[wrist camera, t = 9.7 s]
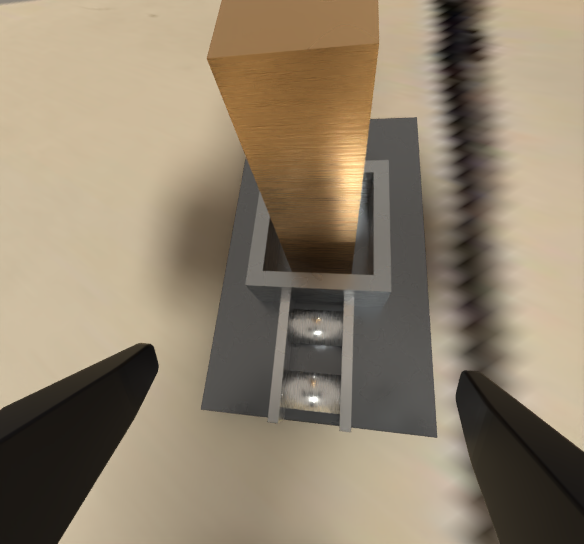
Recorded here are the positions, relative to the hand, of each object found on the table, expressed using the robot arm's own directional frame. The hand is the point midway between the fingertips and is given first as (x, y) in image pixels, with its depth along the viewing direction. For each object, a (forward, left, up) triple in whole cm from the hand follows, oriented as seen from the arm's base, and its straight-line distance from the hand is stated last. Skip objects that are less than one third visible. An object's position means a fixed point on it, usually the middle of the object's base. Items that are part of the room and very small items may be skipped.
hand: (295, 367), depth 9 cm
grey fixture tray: (+3, +7, -9) cm, 12 cm away
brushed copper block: (+3, +7, -8) cm, 11 cm away
